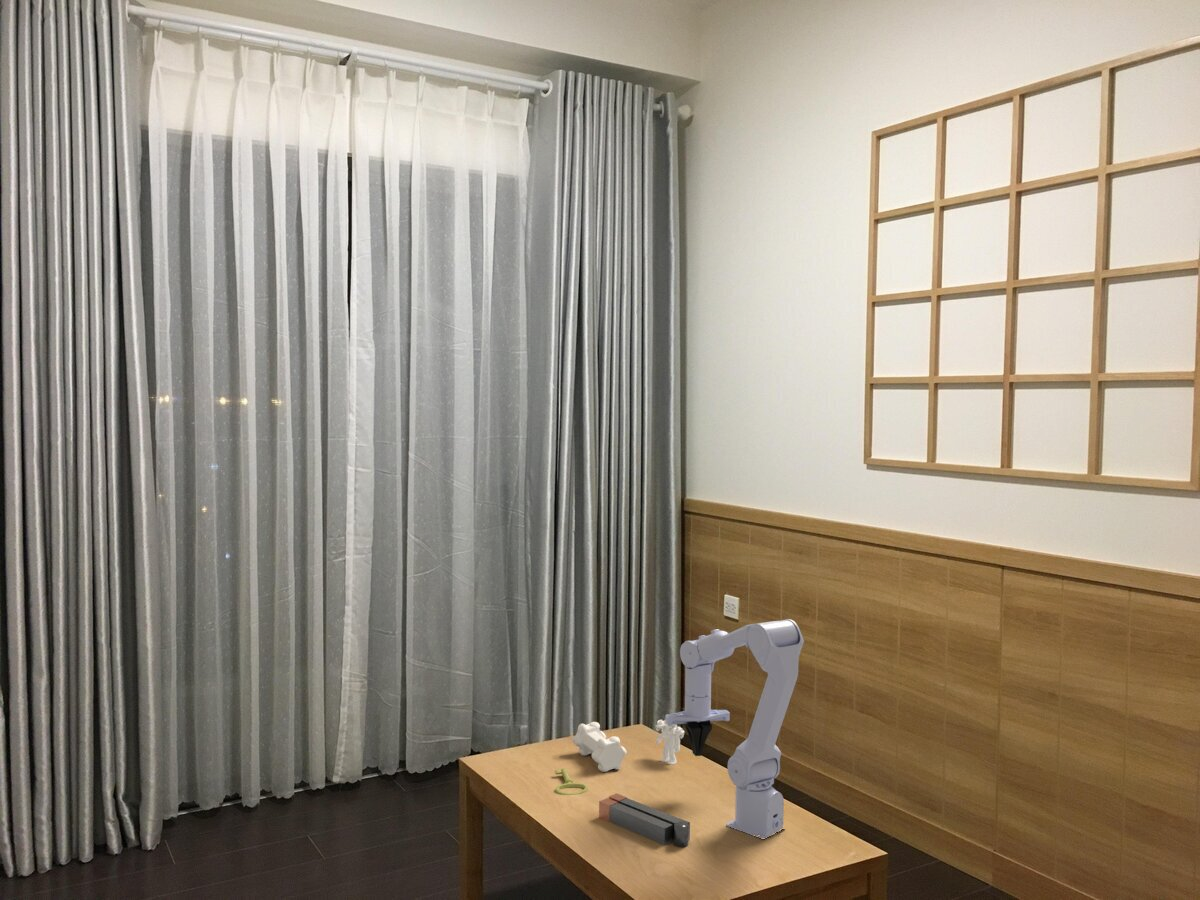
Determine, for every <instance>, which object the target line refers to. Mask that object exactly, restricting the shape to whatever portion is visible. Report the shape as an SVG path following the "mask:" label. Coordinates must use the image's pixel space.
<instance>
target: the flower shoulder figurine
mask: <svg viewBox="0 0 1200 900" xmlns="http://www.w3.org/2000/svg"><path fill="white" fill-rule="evenodd" d="M656 722H657V723H656V724H655V725H654V727H655V730H656V732H659V731H660V729H661V733H660V734H659V736H658V737H657V738H656V740H655V744H657V745H660V744H661V742H662V741H663V739H664V742H663V743H664V744H663V747H662V748H663V750H662V757H661V758H660V762H662V763H666V762H667V765H668V766H671V765H675V764H677V761H678V760H677V757H676V755H675V754H678V753H680V752H681V751H680V750H681V747H680V746H681V740H682V739H683V738H684V735H685V730H684V729H683V728H682V727H681V726H678V724H673V725H672V726H668V725H667V724H666V723H665V719H664V720H663V719H658V721H656Z"/></svg>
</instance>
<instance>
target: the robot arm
mask: <svg viewBox="0 0 1200 900" xmlns="http://www.w3.org/2000/svg"><path fill="white" fill-rule="evenodd" d="M800 629H801V628H799V626H798V624H797V622H795V620H793V619H790V618H785V619H782V620H775V621H774V620H773V621H772V620H771V621H766V622H759V623H758V622H757V623H752V624H745V625H743V626H741V627H740V628H738V629H736V630H733V631H731V632H727V631H725V630H721V629H719V628H718V629H712V630H710V634H708V635H705V634H703V635H699V636H698V639H695V640H685V641H684V642H683V643H682V644H681V646H680V649H679V655H680V661H681V662H682V664H683V665H684V667H685V669H684V670H685V671H684V672H685V673H684V677H685V678H684V681H685V682H684V683H685V684H684V710H683V711H678V712H675V713H669V714H668V713H667V714H665V716H664V717H665V718H664V720H665V723H666V724H667V725H668V726H672V725H673V724H676V725H683V727H684V728H685V731H686V733H687V735H688V738H689V741H690V745H691V750H692V751H691V752H692V754H693V755H694V756H695V757H702V754H703V751H704V747H705V744H706V741H707V739H708V736H709V735H710V733H711V731H712V730H713V725H712V723H711V722H720V721H724V722H729V721H730V720H731V717H730V716H731V712H729V711H728V710H727V709H712V707H711V706H712V673H713V672H714V669H715V663H716V662H718V661H721V660H723V659H726V658H729V657H731V656H732V655H733V653H734V652H735V649H737V648H740V647H744V646H745V647H746V648H747V649H749V650H750V651H751V653H752V655H753V656H754V659H755V660H756V662H757V663H758V665H759V666H760V668H761V670H762V671H763V672H766V673H767V678H766V681H765V684H764V686H763V690H762V693H761V696H760V700H759V703H758V706H757V708H756V712H755V715H754V718H753V720H752V721H753V722H752V724H751V727H750V729H749V734H748V736H747V738H746V739H745V740H744V741H743V742H742V743H740V744H739V745H738V746H737V747H736V748H735V751H734V753H733V755H731V756H730V757H729V758H728V761H727V774H728V776H729V779H730V780H731V782H732V784H733V785H734V786H735V802H734V803H735V811H734V812H735V813H734V814H735V815H734V816H735V817H734V819H733V820H731V821H728V822H726V827H728V828H730V827H731V828H730V829H733V828H734V829H733V830H736V829H737V830H736V831H738V830H740V831H739V832H741V831H743V832H746V833H748V834H747V835H749V834H751V835H755V836H758V835H760V836H758V837H760V838H766V837H768V836H770V835H772V834H773V833H775V832H777V831H779V830H780V829H782V828H783V825H784V816H785V815H784V813H785V811H784V807H785V804H784V803H785V801H784V796H783V794H782V793H781V792H779V791H777V790H776V789H775V788H774V787H773V785H774V784H775V779H776V778H777V777H778V776H779V774H780V771H781V763H780V762H781V756H782V751H781V750H780V749H779V747H778V746H777V745H776V742H777V739H778V736H779V733H780V730H781V727H782V725H783V721H784V719H785V716H786V713H787V711H788V706H789V704H790V700H791V697H792V695H793V692H794V690H795V686H796V683H797V680H798V676H799V665H800V664H799V663H800V662H799V658H800V654H801V651H802V648H803V645H804V643H805V640H804V638H803V634H802V632H801V630H800ZM743 832H742V833H743ZM746 833H745V834H746ZM751 835H750V836H751Z"/></svg>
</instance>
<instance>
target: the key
mask: <svg viewBox="0 0 1200 900" xmlns="http://www.w3.org/2000/svg"><path fill="white" fill-rule="evenodd" d="M554 774H555V775H562V777H563V781H564V783H561V784H559V785H557V786H556V787H555V793H556V794H559V795H563V796H564V795H565V796H572V795H573V796H574V795H580V794H584V793H587V792H588V791H589V788H588V786H587V785H586V784H585V783H581V782H573V780H572V779H571V778H570V776H569V774H568V771H567V769H566V768H565V767H563V768H561V769H557V770H555V771H554ZM569 788H580V789H582V790H580V791H576V792H575V791H574V792H565V791H563V790H562V789H569Z"/></svg>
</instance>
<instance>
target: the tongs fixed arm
mask: <svg viewBox="0 0 1200 900" xmlns="http://www.w3.org/2000/svg"><path fill="white" fill-rule="evenodd" d="M598 803H599V804H598V805H599V806H598V818H599V819H602V820H604V821H606V822H610V823H612V824H614V825H616V826H619V827H620V828H623V829H625V830H628V831H630V832H633V833H635V834H638V835H640V836H642V837H644V838H647V839H649V840H651V841H653V842H656V843H658V844H660V845H662V846H666V845H668V844H670V843H672V842H673V840H672V834H673V825H672V824H669V823H667V822H664V821H662V820H659V819H657V818H654V817H652V816H649V815H647V814H644V813H642V812H640V811H637V810H635V809H632V808H630V807H627V806H625V805H622V804H620V803H618V802H616V801H614V800H611V799H609V797H607V798H603V799H602V800H599V802H598Z"/></svg>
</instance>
